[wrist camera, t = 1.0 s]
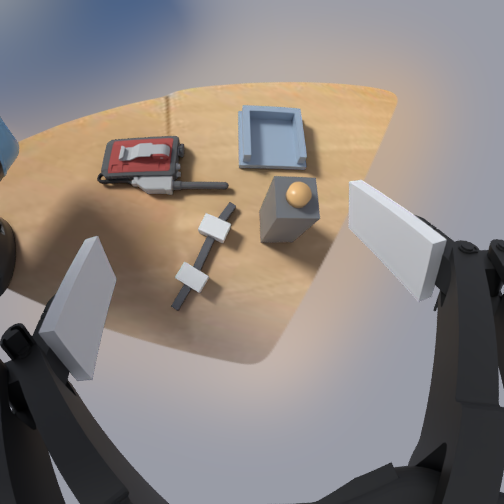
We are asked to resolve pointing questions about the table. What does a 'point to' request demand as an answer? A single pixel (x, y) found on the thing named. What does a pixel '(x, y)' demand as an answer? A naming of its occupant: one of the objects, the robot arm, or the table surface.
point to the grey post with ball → (288, 209)
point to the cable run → (203, 254)
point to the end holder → (271, 138)
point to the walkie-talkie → (148, 165)
